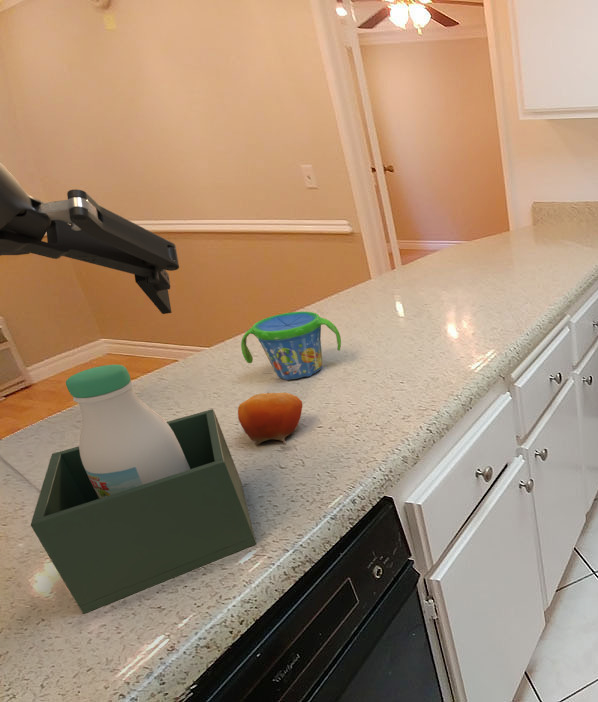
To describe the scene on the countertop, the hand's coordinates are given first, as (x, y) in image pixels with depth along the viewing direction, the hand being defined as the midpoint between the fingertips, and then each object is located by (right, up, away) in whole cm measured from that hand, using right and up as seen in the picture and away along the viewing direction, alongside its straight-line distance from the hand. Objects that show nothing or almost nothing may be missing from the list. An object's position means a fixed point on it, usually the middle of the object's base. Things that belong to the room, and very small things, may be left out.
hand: (80, 315), depth 55 cm
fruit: (+2, -16, +29) cm, 33 cm away
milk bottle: (+2, -24, +8) cm, 26 cm away
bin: (+2, -25, +9) cm, 26 cm away
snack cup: (-6, -8, +49) cm, 50 cm away
